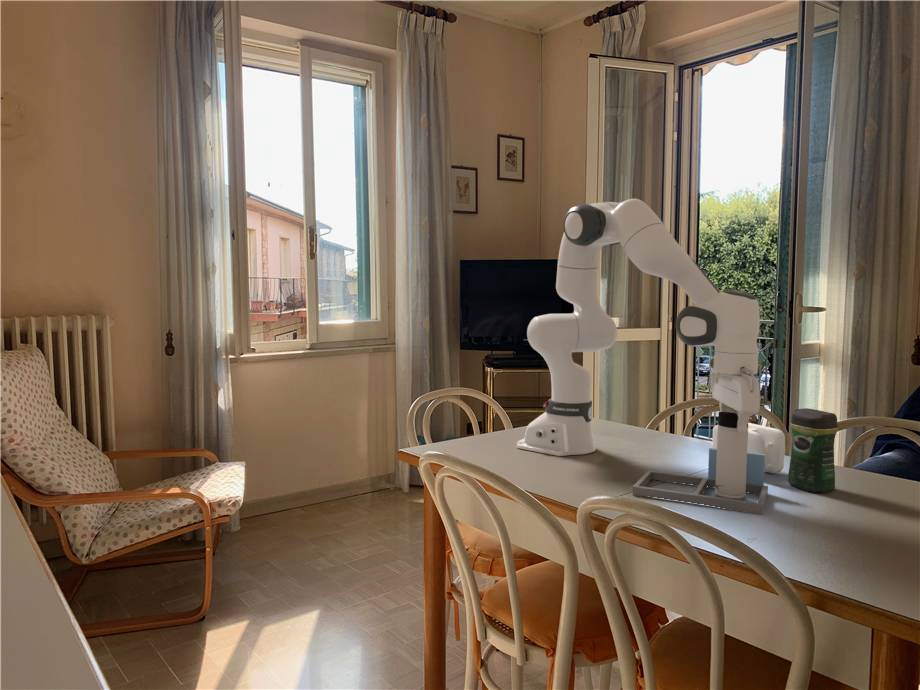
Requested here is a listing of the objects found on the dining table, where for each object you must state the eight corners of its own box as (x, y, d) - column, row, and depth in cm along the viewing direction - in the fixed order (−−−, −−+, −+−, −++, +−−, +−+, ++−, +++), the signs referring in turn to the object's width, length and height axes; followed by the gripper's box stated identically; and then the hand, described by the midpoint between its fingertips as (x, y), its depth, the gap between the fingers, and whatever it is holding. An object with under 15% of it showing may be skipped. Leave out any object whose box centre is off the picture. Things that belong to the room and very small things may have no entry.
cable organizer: (708, 466, 180) (709, 422, 179) (736, 461, 185) (737, 418, 184) (756, 481, 167) (759, 434, 166) (785, 475, 172) (787, 429, 171)
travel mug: (712, 500, 152) (715, 411, 150) (717, 492, 158) (721, 406, 156) (742, 505, 149) (746, 414, 147) (747, 497, 155) (750, 409, 153)
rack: (632, 495, 157) (633, 456, 156) (649, 476, 171) (650, 441, 170) (761, 514, 144) (763, 472, 143) (768, 493, 158) (769, 454, 157)
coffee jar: (841, 491, 159) (845, 412, 158) (817, 495, 156) (821, 414, 154) (805, 480, 168) (808, 405, 166) (781, 484, 165) (785, 407, 163)
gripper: (769, 371, 140) (766, 437, 142) (734, 359, 161) (731, 417, 162) (738, 371, 141) (735, 437, 142) (706, 358, 161) (704, 417, 162)
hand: (733, 426), depth 152 cm, fingers open, 8 cm apart
